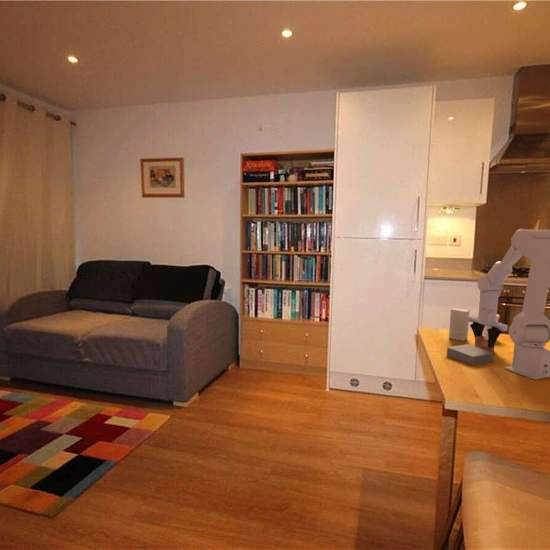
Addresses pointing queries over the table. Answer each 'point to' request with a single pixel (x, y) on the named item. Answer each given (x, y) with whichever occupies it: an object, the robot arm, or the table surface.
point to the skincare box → (459, 324)
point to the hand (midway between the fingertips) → (484, 345)
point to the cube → (482, 343)
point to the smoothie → (489, 327)
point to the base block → (470, 354)
